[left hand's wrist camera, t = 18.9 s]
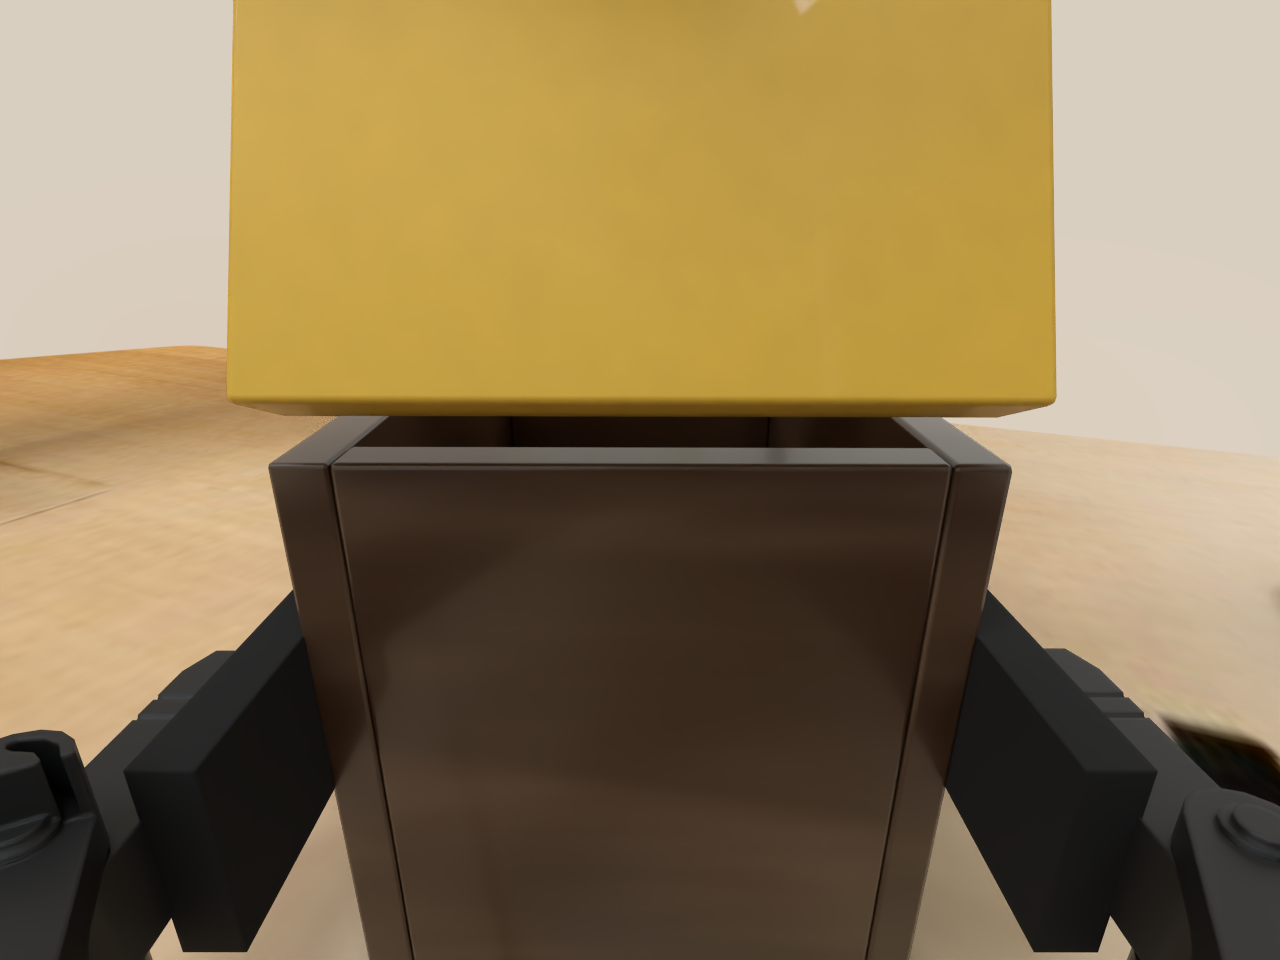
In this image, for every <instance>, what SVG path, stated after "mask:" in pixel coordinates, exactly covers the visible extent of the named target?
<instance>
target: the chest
mask: <svg viewBox="0 0 1280 960" xmlns="http://www.w3.org/2000/svg"><path fill="white" fill-rule="evenodd" d="M268 469H269V474H270V478H271V483H272V488H273V493H274V498H275V503H276V508H277V513H278V517H279V522H280V527H281V532H282V537H283V542H284V547H285V551H286V556H287V561H288V566H289V571H290V576H291V581H292V586H293V590H294V595H295V600H296V605H297V610H298V615H299V620H300V624H301V629H302V634H303V637H304V642H305V646H306V651H307V656H308V661H309V666H310V671H311V675H312V680H313V685H314V690H315V695H316V699H317V704H318V709H319V714H320V719H321V724H322V728H323V733H324V738H325V743H326V748H327V753H328V757H329V762H330V767H331V772H332V777H333V781H334V786H335V789H334V790H335V795H336V800H337V804H338V809H339V814H340V819H341V824H342V829H343V834H344V839H345V843H346V848H347V853H348V858H349V863H350V868H351V873H352V877H353V882H354V887H355V892H356V897H357V902H358V907H359V912H360V916H361V921H362V926H363V931H364V936H365V941H366V946H367V950H368V955H369V960H909V957H910V952H911V947H912V942H913V938H914V933H915V928H916V923H917V919H918V914H919V909H920V905H921V900H922V895H923V890H924V886H925V881H926V876H927V871H928V867H929V862H930V857H931V853H932V848H933V843H934V838H935V834H936V829H937V824H938V819H939V815H940V810H941V805H942V801H943V796H944V791H945V786H946V782H947V777H948V772H949V767H950V763H951V758H952V753H953V749H954V744H955V739H956V734H957V729H958V725H959V720H960V715H961V710H962V706H963V701H964V696H965V691H966V686H967V682H968V677H969V672H970V667H971V662H972V658H973V653H974V648H975V643H976V639H977V635H978V630H979V626H980V621H981V616H982V612H983V607H984V602H985V597H986V593H987V588H988V583H989V578H990V574H991V569H992V564H993V560H994V555H995V550H996V545H997V541H998V536H999V531H1000V526H1001V522H1002V517H1003V512H1004V508H1005V503H1006V498H1007V493H1008V489H1009V484H1010V479H1011V474H1012V469H1011V466H1010V465H1009V464H1008V463H1006V462H1005V461H1003V460H1002V459H1000V458H999V457H997V456H996V455H995V454H993V453H992V452H990V451H989V450H987V449H986V448H984V447H983V446H982V445H980V444H979V443H977V442H976V441H974V440H973V439H971V438H970V437H969V436H967V435H966V434H964V433H963V432H961V431H960V430H958V429H957V428H956V427H954V426H953V425H951V424H950V423H948V422H947V421H945V420H944V419H943V418H941V417H610V416H338V417H337V418H335V419H334V420H333V421H331V422H330V423H328V424H327V425H325V426H324V427H322V428H321V429H319V430H318V431H317V432H315V433H314V434H312V435H311V436H309V437H308V438H306V439H305V440H303V441H302V442H301V443H299V444H298V445H296V446H295V447H293V448H292V449H290V450H289V451H287V452H286V453H285V454H283V455H282V456H280V457H279V458H277V459H276V460H274V461H273V462H272V463H270V464H269V468H268Z"/></svg>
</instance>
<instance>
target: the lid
mask: <svg viewBox="0 0 1280 960" xmlns="http://www.w3.org/2000/svg"><path fill="white" fill-rule="evenodd" d="M1055 332H1056V331H1055V256H1054V183H1053V108H1052V32H1051V0H233V54H232V110H231V165H230V221H229V276H228V333H227V388H226V395H227V398H228V400H229V401H230V402H232V403H234V404H237V405H241V406H246V407H250V408H254V409H259V410H263V411H267V412H271V413H276V414H280V415H284V416H610V417H1001V416H1005V415H1010V414H1014V413H1019V412H1023V411H1028V410H1032V409H1037V408H1041V407H1045V406H1048V405H1051V404H1053V403H1054V402H1055V399H1056V333H1055Z"/></svg>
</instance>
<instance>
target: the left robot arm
mask: <svg viewBox="0 0 1280 960" xmlns="http://www.w3.org/2000/svg"><path fill="white" fill-rule="evenodd" d="M945 787H946V789H947V791H948V793H949V795H950V797H951V798H952V800H953V802H954V804H955V806H956V808H957V810H958V812H959V813H960V815H961V817H962V819H963V821H964V823H965V825H966V826H967V828H968V830H969V832H970V834H971V836H972V838H973V839H974V841H975V843H976V845H977V847H978V849H979V851H980V853H981V854H982V856H983V858H984V860H985V862H986V864H987V866H988V867H989V869H990V871H991V873H992V875H993V877H994V879H995V880H996V882H997V884H998V886H999V888H1000V890H1001V892H1002V893H1003V895H1004V897H1005V899H1006V901H1007V903H1008V905H1009V907H1010V908H1011V910H1012V912H1013V914H1014V916H1015V918H1016V920H1017V921H1018V923H1019V925H1020V927H1021V929H1022V931H1023V933H1024V934H1025V936H1026V938H1027V940H1028V942H1029V944H1030V946H1031V948H1032V949H1033V951H1034V952H1098V950H1099V947H1100V944H1101V941H1102V938H1103V935H1104V932H1105V929H1106V926H1107V923H1108V920H1109V917H1110V916H1111V917H1112V918H1113V920H1114V921H1115V923H1116V924H1117V926H1118V927H1119V929H1120V930H1121V932H1122V933H1123V935H1124V936H1125V938H1126V939H1127V941H1128V942H1129V944H1130V945H1131V947H1132V948H1131V951H1130V954H1129V957H1128V959H1127V960H1280V807H1279V806H1278V805H1276V804H1274V803H1271V802H1268V801H1266V800H1263V799H1260V798H1258V797H1255V796H1252V795H1250V794H1247V793H1244V792H1239V791H1234V790H1228V789H1223V788H1220V787H1219V786H1218V785H1217V784H1216V783H1215V782H1214V781H1213V780H1212V779H1211V778H1210V777H1209V776H1208V775H1207V774H1206V773H1205V772H1204V771H1203V770H1202V769H1201V768H1200V767H1199V766H1198V765H1197V764H1196V763H1195V762H1194V761H1193V760H1192V759H1190V758H1189V757H1188V756H1187V755H1186V754H1185V753H1184V752H1183V751H1182V750H1181V749H1180V748H1179V747H1178V746H1177V745H1176V744H1175V743H1174V742H1173V741H1172V740H1171V739H1170V738H1169V737H1168V736H1167V735H1166V734H1165V733H1164V732H1163V731H1162V730H1161V729H1160V728H1159V727H1158V726H1157V725H1156V724H1155V723H1154V722H1153V721H1152V720H1151V719H1150V718H1145V717H1144V712H1143V711H1142V710H1140V709H1139V708H1138V707H1137V706H1136V705H1135V704H1134V703H1133V702H1132V701H1131V700H1130V699H1129V698H1124V695H1123V692H1122V691H1121V690H1120V689H1119V688H1118V687H1117V686H1116V685H1115V684H1114V683H1113V682H1112V681H1111V680H1110V679H1109V678H1108V677H1107V676H1106V675H1105V674H1104V673H1103V672H1102V671H1101V670H1100V669H1098V668H1097V667H1095V666H1093V665H1092V664H1090V663H1088V662H1087V661H1085V660H1083V659H1082V658H1080V657H1078V656H1077V655H1075V654H1073V653H1071V652H1070V651H1068V650H1066V649H1043V648H1042V647H1041V646H1040V645H1039V644H1038V643H1037V641H1036V640H1035V639H1034V638H1033V637H1032V636H1031V635H1030V634H1029V633H1028V632H1027V631H1026V630H1025V629H1024V628H1023V627H1022V626H1021V624H1020V623H1019V622H1018V621H1017V620H1016V619H1015V618H1014V617H1013V616H1012V615H1011V614H1010V613H1009V612H1008V611H1007V610H1006V608H1005V607H1004V606H1003V605H1002V604H1001V603H1000V602H999V601H998V600H997V599H996V598H995V597H994V596H993V595H992V594H991V592H990V591H989V590H988V589H987V593H986V597H985V602H984V607H983V612H982V616H981V621H980V626H979V630H978V635H977V639H976V643H975V648H974V653H973V658H972V662H971V667H970V672H969V677H968V682H967V686H966V691H965V696H964V701H963V706H962V710H961V715H960V720H959V725H958V729H957V734H956V739H955V744H954V749H953V753H952V758H951V763H950V767H949V772H948V777H947V782H946V786H945ZM334 789H335V786H334V781H333V777H332V772H331V767H330V762H329V757H328V753H327V748H326V743H325V738H324V733H323V728H322V724H321V719H320V714H319V709H318V704H317V699H316V695H315V690H314V685H313V680H312V675H311V671H310V666H309V661H308V656H307V651H306V646H305V642H304V637H303V634H302V629H301V624H300V620H299V615H298V610H297V605H296V600H295V595H294V590H292V591H291V592H290V593H289V594H288V595H287V597H286V598H285V599H284V600H283V601H282V602H281V603H280V604H279V605H278V606H277V607H276V608H275V609H274V610H273V611H272V613H271V614H270V615H269V616H268V617H267V618H266V619H265V620H264V621H263V622H262V623H261V624H260V625H259V626H258V627H257V629H256V630H255V631H254V632H253V633H252V634H251V635H250V636H249V637H248V638H247V639H246V640H245V641H244V642H243V643H242V645H241V646H240V647H239V648H238V649H237V650H236V651H215V652H214V653H212V654H210V655H209V656H207V657H205V658H204V659H202V660H200V661H199V662H197V663H195V664H194V665H192V666H190V667H189V668H187V669H185V670H184V671H182V672H181V673H180V674H179V675H178V676H177V677H176V678H175V679H174V680H173V681H172V682H171V683H170V684H169V685H168V686H167V687H166V688H165V689H164V690H163V691H162V692H161V693H160V694H159V695H158V699H157V700H153V701H152V702H151V703H150V704H149V705H148V706H147V707H146V708H145V709H144V710H143V711H142V712H141V713H140V714H139V715H138V719H137V720H132V721H131V722H130V723H129V724H128V725H127V726H126V727H125V728H124V729H123V730H122V731H121V732H120V733H119V734H118V735H117V736H116V737H115V738H114V739H113V740H112V741H111V742H110V743H109V744H108V745H107V746H106V747H105V748H104V749H103V750H102V751H101V752H100V753H99V754H98V755H97V756H96V757H95V758H94V759H93V760H92V761H91V762H90V763H89V764H88V765H87V766H86V767H85V768H84V765H83V763H82V760H81V757H80V754H79V751H78V749H77V746H76V743H75V740H74V739H73V738H71V737H70V736H68V735H67V734H65V733H64V732H62V731H51V730H36V731H30V732H24V733H18V734H12V735H9V736H6V737H3V738H0V960H153V959H152V957H151V954H150V951H149V950H150V949H151V947H152V946H153V944H154V943H155V941H156V940H157V938H158V937H159V935H160V934H161V932H162V931H163V929H164V928H165V926H166V925H167V923H168V922H169V921H170V919H171V918H172V920H173V923H174V926H175V929H176V932H177V935H178V938H179V941H180V944H181V947H182V950H183V952H247V951H248V949H249V947H250V945H251V943H252V942H253V940H254V938H255V936H256V934H257V932H258V930H259V928H260V927H261V925H262V923H263V921H264V919H265V917H266V915H267V914H268V912H269V910H270V908H271V906H272V904H273V902H274V901H275V899H276V897H277V895H278V893H279V891H280V889H281V887H282V886H283V884H284V882H285V880H286V878H287V876H288V874H289V873H290V871H291V869H292V867H293V865H294V863H295V861H296V860H297V858H298V856H299V854H300V852H301V850H302V848H303V846H304V845H305V843H306V841H307V839H308V837H309V835H310V833H311V832H312V830H313V828H314V826H315V824H316V822H317V820H318V819H319V817H320V815H321V813H322V811H323V809H324V807H325V805H326V804H327V802H328V800H329V798H330V796H331V794H332V792H333V791H334Z"/></svg>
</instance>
